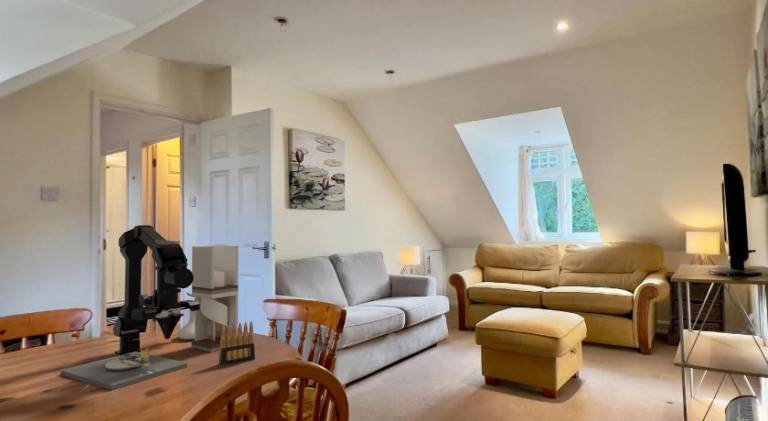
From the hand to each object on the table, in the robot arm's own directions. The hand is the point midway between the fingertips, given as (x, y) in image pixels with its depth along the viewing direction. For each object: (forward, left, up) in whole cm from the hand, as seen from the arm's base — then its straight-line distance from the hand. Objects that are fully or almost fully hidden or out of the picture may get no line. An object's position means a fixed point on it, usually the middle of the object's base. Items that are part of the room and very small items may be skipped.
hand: (167, 338), depth 134 cm
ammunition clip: (+13, +15, -9) cm, 22 cm away
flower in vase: (-25, +29, -9) cm, 40 cm away
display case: (-8, +24, -9) cm, 27 cm away
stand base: (-9, -7, -9) cm, 14 cm away
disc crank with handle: (-7, -7, -7) cm, 12 cm away
